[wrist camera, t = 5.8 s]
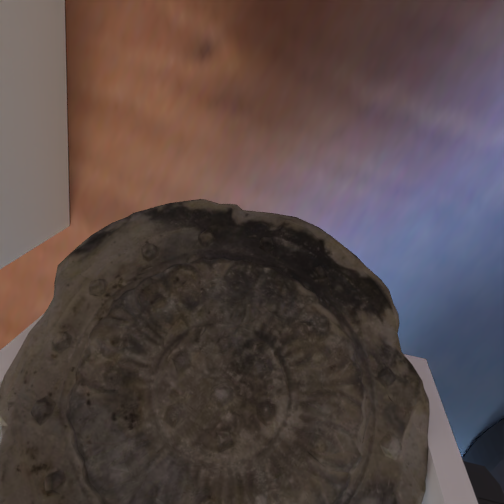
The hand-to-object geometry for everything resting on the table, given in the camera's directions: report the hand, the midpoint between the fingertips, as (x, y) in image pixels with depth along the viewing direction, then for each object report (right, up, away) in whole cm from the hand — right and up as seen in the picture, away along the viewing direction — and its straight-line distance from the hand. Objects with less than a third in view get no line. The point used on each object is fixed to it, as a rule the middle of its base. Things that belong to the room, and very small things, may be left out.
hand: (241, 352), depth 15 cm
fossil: (0, +1, 0) cm, 1 cm away
